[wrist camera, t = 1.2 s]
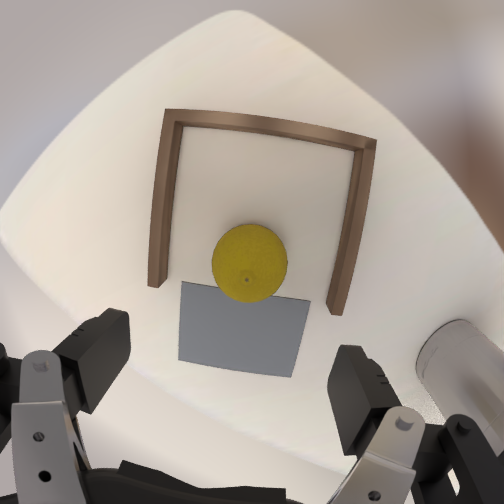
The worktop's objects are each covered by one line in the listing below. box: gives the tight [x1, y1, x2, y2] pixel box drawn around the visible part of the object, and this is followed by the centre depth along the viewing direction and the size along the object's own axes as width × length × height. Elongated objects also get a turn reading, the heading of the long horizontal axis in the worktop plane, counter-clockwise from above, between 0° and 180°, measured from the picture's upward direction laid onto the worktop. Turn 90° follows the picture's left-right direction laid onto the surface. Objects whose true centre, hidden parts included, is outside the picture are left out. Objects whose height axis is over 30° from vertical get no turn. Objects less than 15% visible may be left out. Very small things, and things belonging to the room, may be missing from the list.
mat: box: [178, 282, 311, 377], centre depth 27 cm, size 12×9×1 cm
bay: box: [148, 109, 377, 316], centre depth 23 cm, size 17×15×2 cm
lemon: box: [212, 224, 288, 303], centre depth 22 cm, size 6×6×8 cm
